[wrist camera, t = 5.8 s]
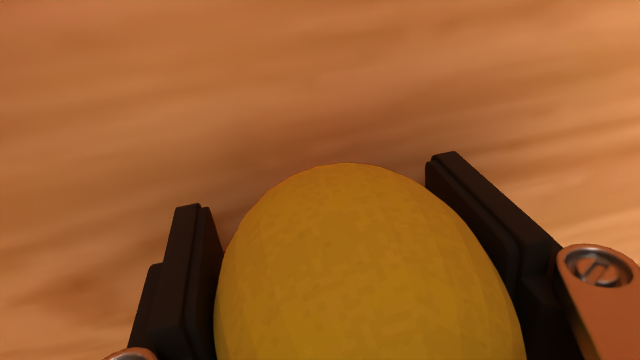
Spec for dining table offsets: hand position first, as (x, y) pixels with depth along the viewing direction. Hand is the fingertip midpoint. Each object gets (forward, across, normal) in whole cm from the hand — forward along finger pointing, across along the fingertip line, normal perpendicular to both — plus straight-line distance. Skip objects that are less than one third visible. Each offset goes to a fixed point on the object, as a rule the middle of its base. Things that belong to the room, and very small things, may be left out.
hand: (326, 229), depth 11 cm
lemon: (+1, 0, 0) cm, 1 cm away
